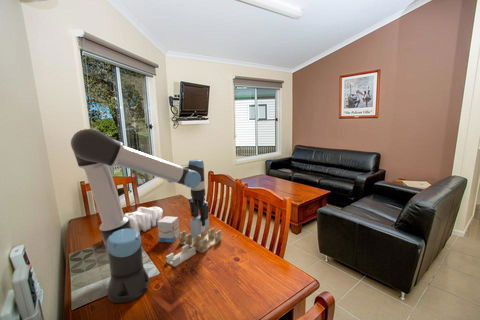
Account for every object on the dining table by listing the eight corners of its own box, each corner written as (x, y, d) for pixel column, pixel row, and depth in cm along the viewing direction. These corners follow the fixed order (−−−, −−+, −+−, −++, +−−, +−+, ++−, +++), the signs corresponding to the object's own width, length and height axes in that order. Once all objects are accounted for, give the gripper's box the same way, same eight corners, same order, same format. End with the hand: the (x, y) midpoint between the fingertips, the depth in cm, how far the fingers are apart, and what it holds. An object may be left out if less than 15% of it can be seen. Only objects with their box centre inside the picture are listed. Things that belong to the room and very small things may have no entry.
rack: (202, 253, 115) (201, 242, 114) (179, 243, 124) (179, 233, 124) (221, 240, 127) (221, 230, 126) (199, 232, 136) (199, 223, 136)
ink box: (172, 243, 125) (171, 222, 124) (158, 241, 127) (157, 221, 125) (179, 235, 134) (178, 216, 132) (166, 234, 135) (165, 215, 134)
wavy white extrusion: (119, 243, 126) (117, 225, 125) (104, 236, 135) (101, 219, 134) (170, 220, 155) (168, 206, 153) (154, 216, 164) (153, 201, 162)
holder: (174, 267, 104) (174, 260, 103) (165, 262, 108) (165, 256, 107) (196, 253, 114) (195, 247, 114) (187, 249, 118) (187, 243, 118)
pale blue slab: (194, 237, 119) (193, 221, 118) (190, 235, 121) (189, 219, 120) (209, 229, 128) (208, 214, 127) (205, 228, 130) (204, 212, 129)
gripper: (213, 189, 119) (215, 231, 123) (192, 185, 129) (195, 224, 132) (203, 192, 113) (206, 237, 117) (182, 188, 123) (185, 229, 126)
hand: (200, 230), depth 125 cm, fingers closed on pale blue slab, 3 cm apart
